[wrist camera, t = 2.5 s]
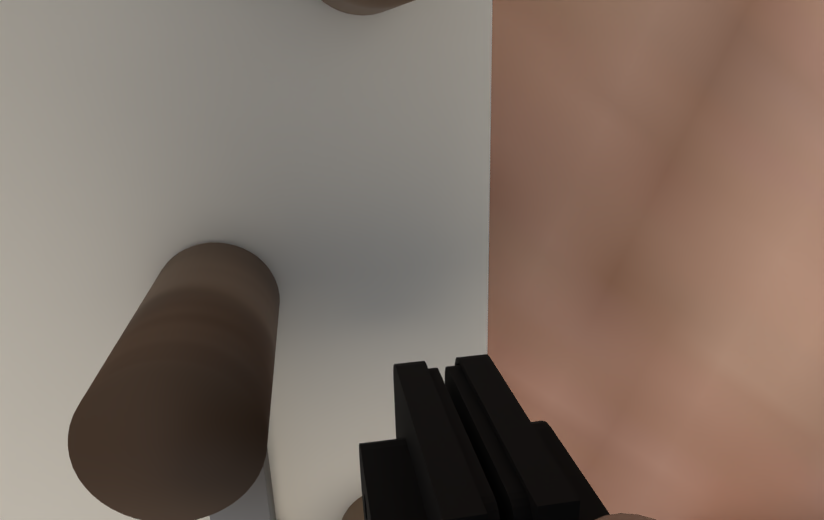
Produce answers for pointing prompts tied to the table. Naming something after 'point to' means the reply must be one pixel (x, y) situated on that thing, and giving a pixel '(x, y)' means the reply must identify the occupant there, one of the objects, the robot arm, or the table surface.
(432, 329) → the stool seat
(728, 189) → the table surface
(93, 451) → the grey and brown lever
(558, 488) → the robot arm
